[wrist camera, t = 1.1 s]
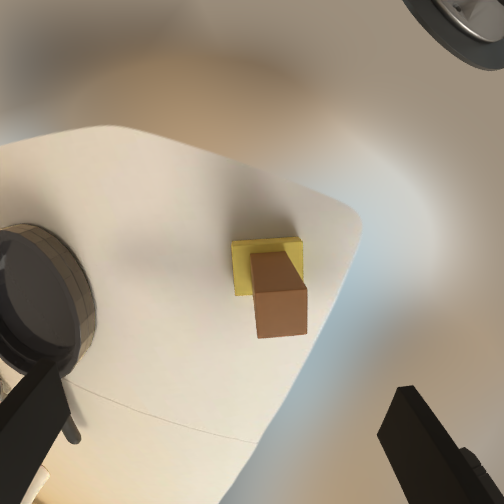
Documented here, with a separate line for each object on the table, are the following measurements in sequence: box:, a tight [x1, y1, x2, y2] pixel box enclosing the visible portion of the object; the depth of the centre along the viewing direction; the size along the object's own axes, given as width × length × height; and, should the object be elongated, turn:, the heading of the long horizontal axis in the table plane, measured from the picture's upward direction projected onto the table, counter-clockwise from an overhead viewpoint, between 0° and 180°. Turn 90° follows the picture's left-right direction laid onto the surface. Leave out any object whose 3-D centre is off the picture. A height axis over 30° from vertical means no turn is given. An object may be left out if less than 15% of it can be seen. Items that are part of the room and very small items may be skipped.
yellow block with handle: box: [231, 237, 307, 339], centre depth 23 cm, size 6×4×11 cm
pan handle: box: [61, 415, 81, 444], centre depth 29 cm, size 2×12×2 cm, turn 4°
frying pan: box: [0, 224, 95, 379], centre depth 26 cm, size 17×17×4 cm
